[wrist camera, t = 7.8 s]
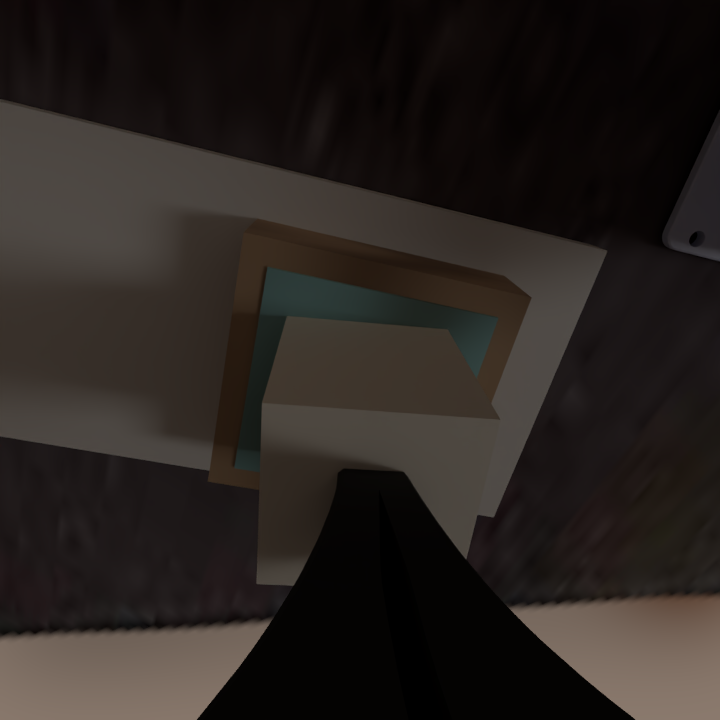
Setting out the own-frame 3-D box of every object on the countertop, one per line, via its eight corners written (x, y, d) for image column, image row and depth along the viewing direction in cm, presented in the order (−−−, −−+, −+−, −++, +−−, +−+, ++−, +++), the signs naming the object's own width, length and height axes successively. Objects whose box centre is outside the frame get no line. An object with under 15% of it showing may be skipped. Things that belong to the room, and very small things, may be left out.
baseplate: (592, 244, 17) (607, 250, 16) (486, 501, 21) (493, 517, 20) (-43, 87, 14) (-69, 84, 13) (-21, 415, 19) (-39, 429, 18)
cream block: (447, 329, 14) (500, 419, 10) (423, 462, 16) (457, 592, 11) (286, 315, 14) (261, 402, 9) (280, 453, 16) (256, 584, 11)
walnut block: (504, 275, 16) (532, 298, 14) (433, 475, 19) (447, 522, 17) (257, 218, 15) (243, 232, 13) (224, 438, 18) (207, 483, 16)
